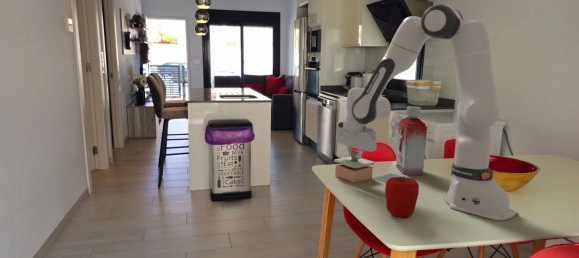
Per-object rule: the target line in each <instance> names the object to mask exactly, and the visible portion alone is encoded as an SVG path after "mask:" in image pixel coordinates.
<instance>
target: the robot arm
mask: <svg viewBox="0 0 579 258" xmlns="http://www.w3.org/2000/svg"><path fill="white" fill-rule="evenodd" d="M430 38H434V39H440V40H443V39H444V40H449V41H450V42H451V45H452V48H453V60H454V70H455V81H456V86H457V91H458V98H459V102H458V104H457V110H456V125H455V126H456V128H455V129H456V130H455V148H454V157H453V162H452V164H451V173H450V175H451V180H450V185H449V189H448V191H447V194H446V196H445V199H444V200H445V202H446V203H447V204H448V205H449V208H450V209H453V210H456V211H461V212H464V213H467V214H471V215H474V216H478V217H483V218H486V219H490V220H494V221H506V220H509V219H512V218H514V217H515V216H516V215H517V209H516V208H514V207H512V206H511V205H510V196H509V194H508V192H506V191H505V190H504V189H503V188H502V187H501V186H500V184H498V183H497V182H496V180H494V179H493V177H494V175H496V170H491V168H490V167H489V164H490V156H491V148H492V144H491V142H492V141H491V127H492V126H494V125H495V124H496V123H497V121H498V119H499V117H500V116H499V115H500V113H499V112H500V111H499V107H498V106H499V104H498V99H497V93H496V88H495V82H494V78H493V68H492V58H491V55H492V54H491V47H490V41H489V36H488V31H487V28H486V26H485V24H484V23H483V22H482V21H480V20H477V19H469V20H464V18H463V15H462V13H461V12H460V11H459V10H458V9H456V8H455V7H453V6H451V5H446V4H440V3H439V4H435V5H431V6H430V7H428V8H427V9H426V10H425V11H424V12H423V14H422V16H421V17H419V16H414V15H411V16H408V17H406V18H404V19H403V21H402V22H401V23H400V25H399V27H398V28H397V30H396V32H395V34H394V35H393V37H392V39H391V42H390V43H389V46H388V47H387V50H386V52H385V54H384V56H383V57H382V59H381V60H380V62H379V63H378V65H377V66H376V68H375V70H374V71H373V72H372V75H371V76H370V79H369V80H368V82H367V84H366V86H357V87H352V88H350V89H349V90H348V92H347V97H346V111H347V112H346V115H345V116H346V117H345V120H344V121H338V122H336V127H337V129H336V131H335V132H336V133H335V141H336V143H337V144H339V145H342V146H346V149H347V152H348V157H351V155H352V151H353V148H354V149H357V151H358V154H356V158H357V159H361V158H362V155H363V153H364V152H365V151H366V152H370V153H371V152H375V151H376V150H377V132H376V131H375V130H374V129H373V128H371V127H368V124H370V123H373V122H376V121H380V120H381V121H382V120H384V119H386V118H387V117H388V116H389V115H390V114H391V111H392V106H391V102H390V100H389V99H388V98H387V97H385V96H382V94H383V92H384V90H385V89H386V87H387V85H388V83H389V82H390V81H392V79H393V78H395V77H396V76H397V75H400V74H401V73H403V72H405V71H408V70H409V69H411V67H412V66H413V65H414V63H415V62H416V60H417V58H418V57H419V55H420V53H421V50H422V48H423V46H424V45H425V43H426V42H427V40H429V39H430Z"/></svg>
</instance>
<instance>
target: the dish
mask: <svg viewBox="0 0 579 258" xmlns="http://www.w3.org/2000/svg"><path fill="white" fill-rule="evenodd" d="M373 168H374V167H373V166H372V165H369V166H364V167H359V168H352V167H349V166H346V165H343V164H340V163H338V164H336V165H335V174H334V176H335V177H336V178H339V179H342V180H344V181H347V182H350V183H353V184H356V183H360V182H363V181H368V180H371V179H372V178H373Z"/></svg>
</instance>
